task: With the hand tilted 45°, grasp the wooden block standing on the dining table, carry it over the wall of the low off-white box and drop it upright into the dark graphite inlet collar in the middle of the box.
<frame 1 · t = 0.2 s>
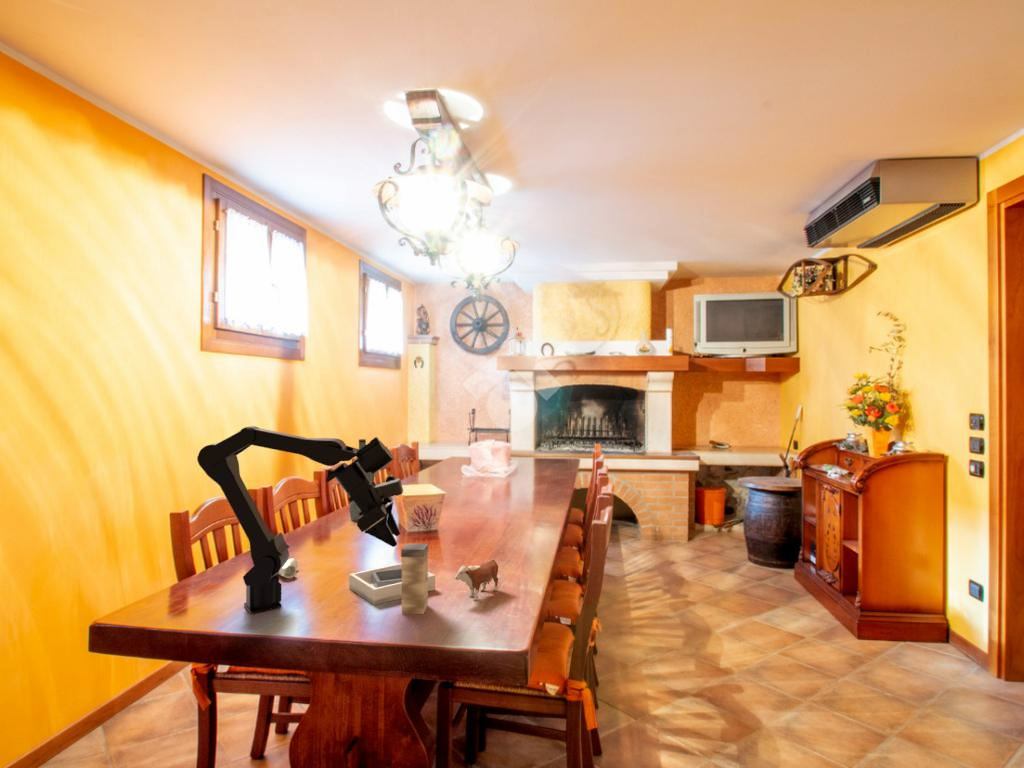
hand: (397, 540, 132), 14 cm above the table, tool tilted 35°, fingers open, 9 cm apart
bull figurine: (478, 596, 135), on the table
bottle: (362, 519, 215), on the table
walled box: (392, 588, 140), on the table
pipe fitting: (288, 575, 152), on the table
wooden block: (414, 609, 127), on the table
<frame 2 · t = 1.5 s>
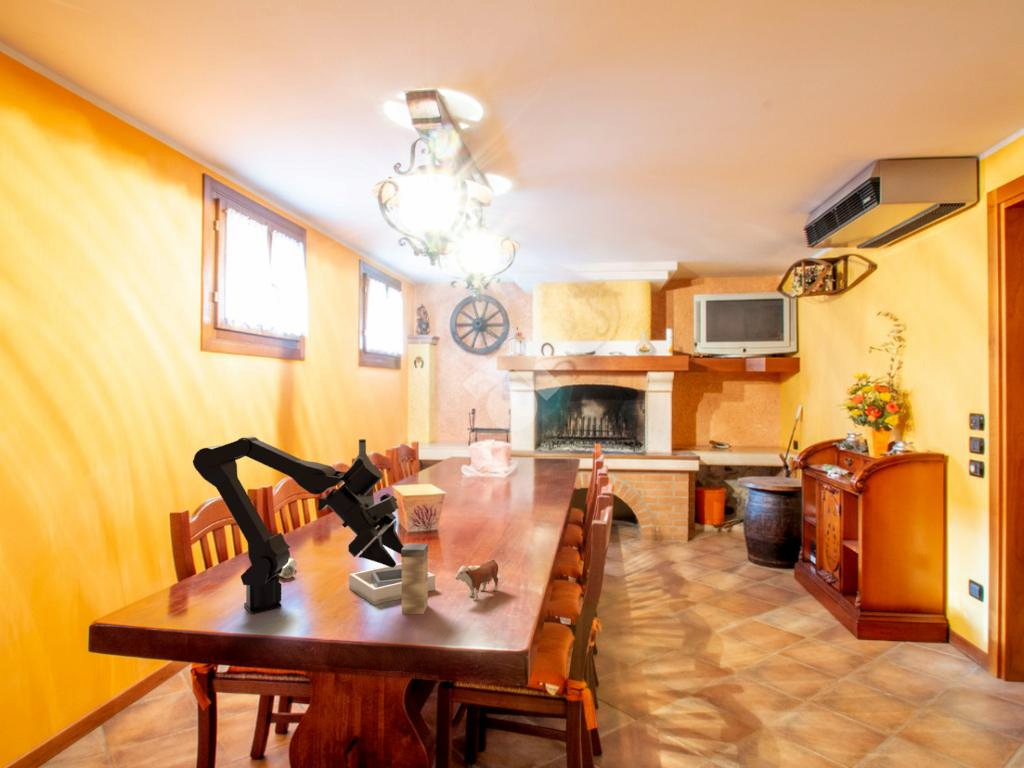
hand: (400, 559, 127), 11 cm above the table, tool tilted 45°, fingers open, 9 cm apart
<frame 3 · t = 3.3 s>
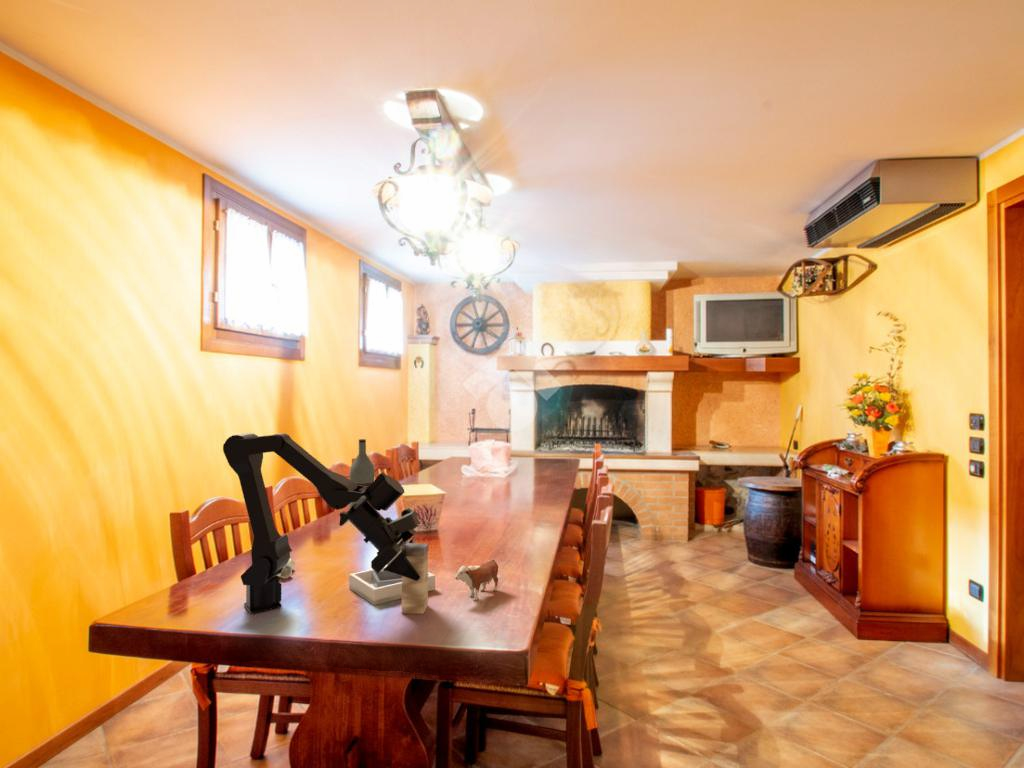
hand: (421, 575, 127), 8 cm above the table, tool tilted 45°, fingers closed on wooden block, 5 cm apart
wooden block: (414, 609, 127), on the table, touching gripper
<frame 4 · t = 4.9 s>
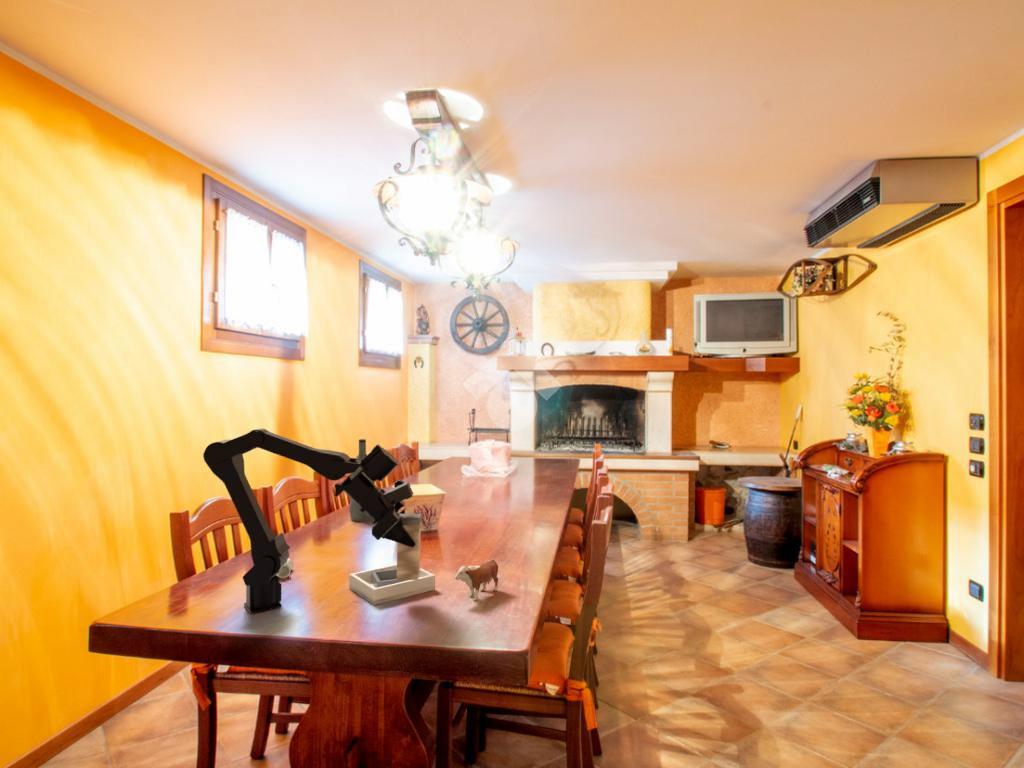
hand: (415, 542, 132), 13 cm above the table, tool tilted 45°, fingers closed on wooden block, 5 cm apart
wooden block: (408, 576, 132), point 6 cm above the table, touching gripper
when the fingers open (9 cm above the table, at t = 7.0 s): wooden block stays where it is, resting on walled box.
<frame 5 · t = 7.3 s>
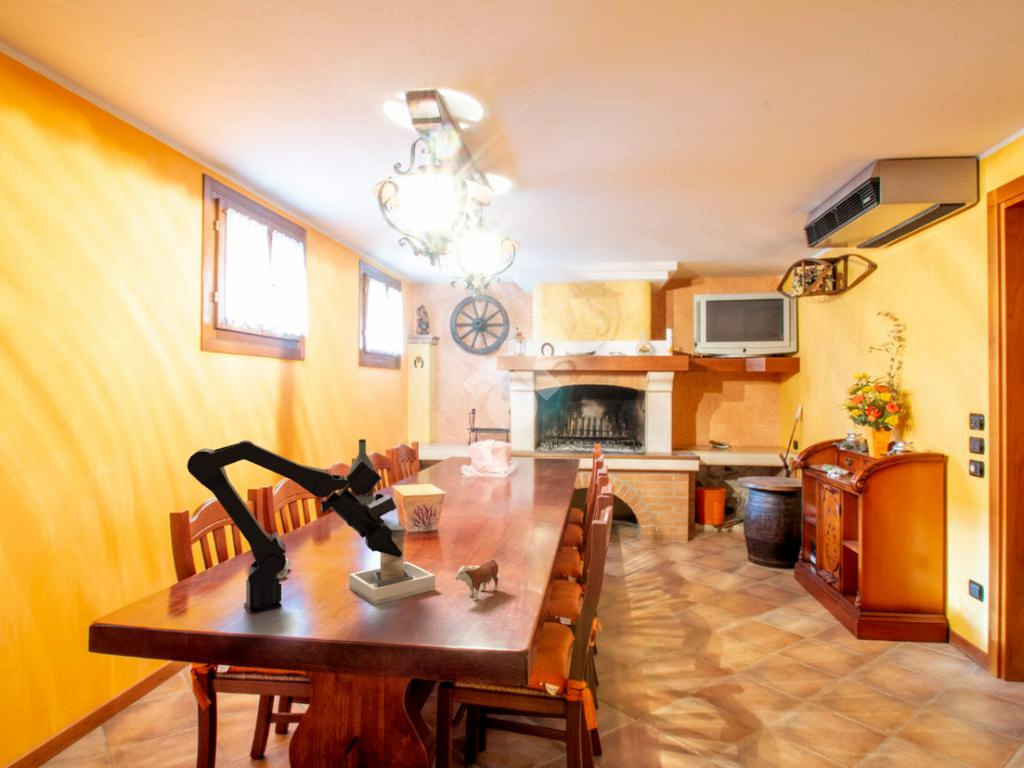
hand: (397, 551, 140), 9 cm above the table, tool tilted 45°, fingers open, 8 cm apart
wooden block: (391, 585, 140), point 1 cm above the table, touching walled box
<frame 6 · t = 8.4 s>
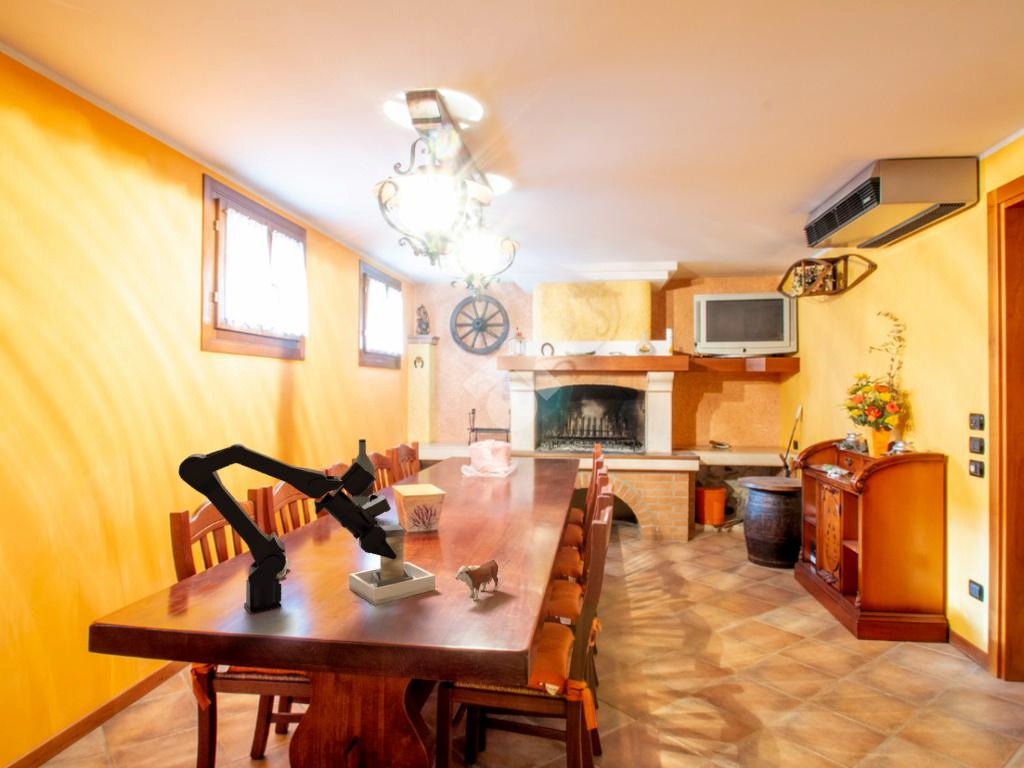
hand: (391, 552, 140), 9 cm above the table, tool tilted 45°, fingers open, 9 cm apart
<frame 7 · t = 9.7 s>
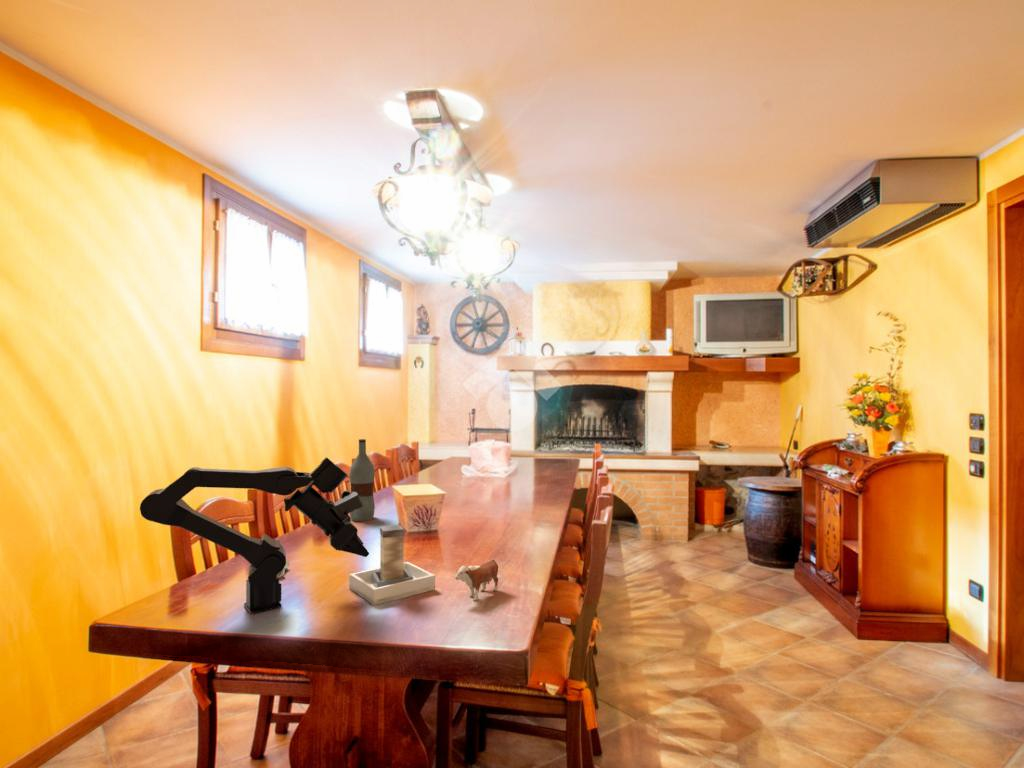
hand: (364, 550, 137), 10 cm above the table, tool tilted 45°, fingers open, 9 cm apart
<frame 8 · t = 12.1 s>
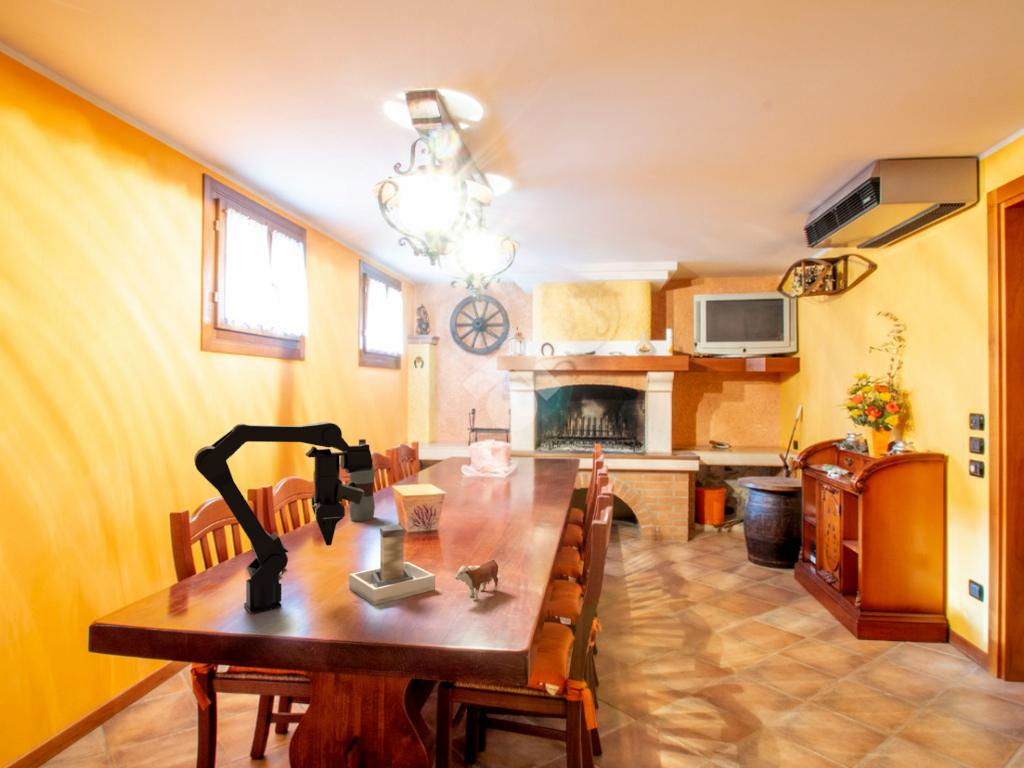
hand: (327, 540, 136), 13 cm above the table, tool pointing down, fingers open, 9 cm apart
at the end: wooden block 0.1 cm off-centre on the walled box, point 1.0 cm above the walled box's base; wooden block tilted 0°; the gripper is holding nothing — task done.
